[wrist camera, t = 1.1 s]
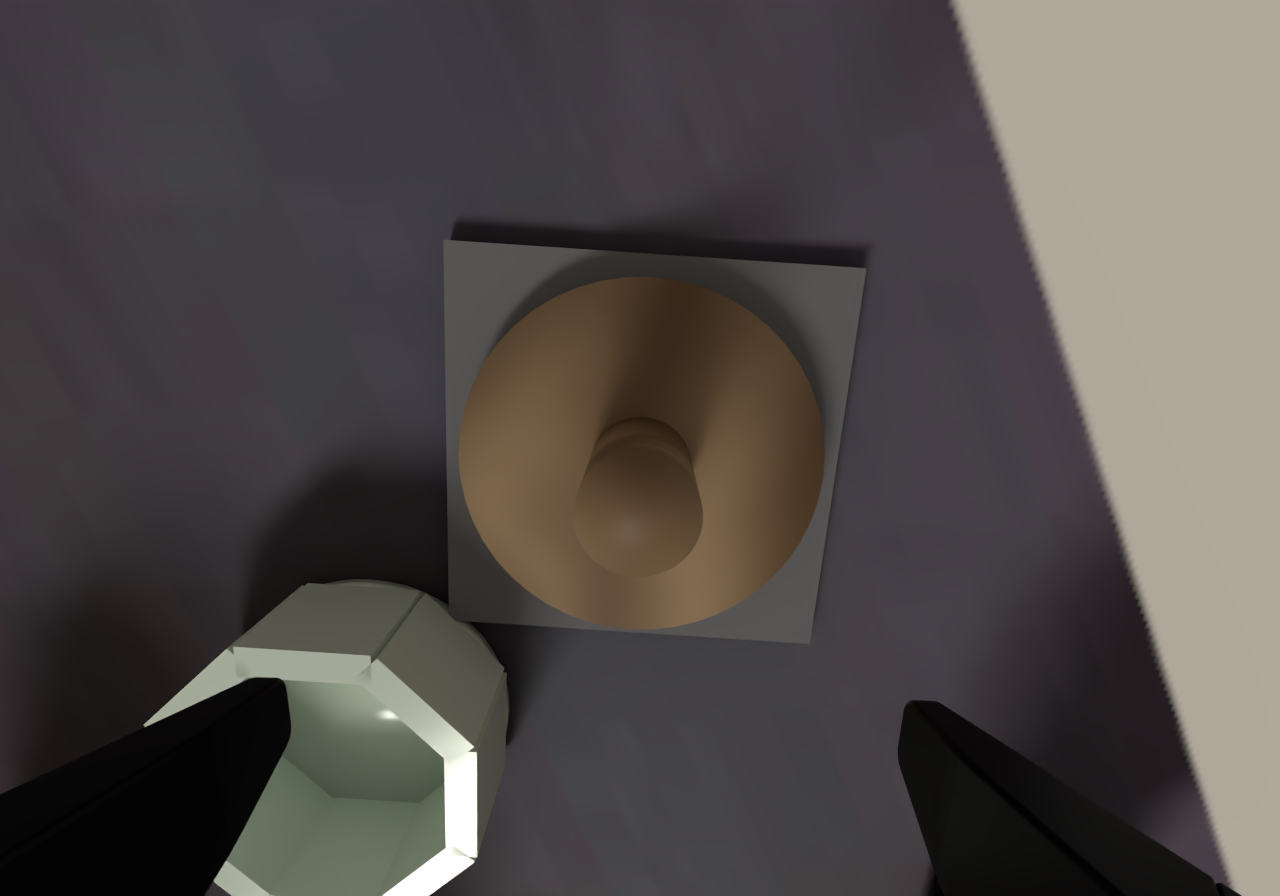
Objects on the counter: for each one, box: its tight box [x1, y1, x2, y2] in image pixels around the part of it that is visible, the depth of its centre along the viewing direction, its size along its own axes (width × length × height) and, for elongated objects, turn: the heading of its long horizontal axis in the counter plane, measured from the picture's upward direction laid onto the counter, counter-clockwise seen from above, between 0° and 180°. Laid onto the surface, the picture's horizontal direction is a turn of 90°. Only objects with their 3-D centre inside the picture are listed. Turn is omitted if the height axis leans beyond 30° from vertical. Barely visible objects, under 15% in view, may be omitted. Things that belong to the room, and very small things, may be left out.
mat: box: [443, 240, 866, 644], centre depth 21 cm, size 13×13×1 cm
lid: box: [458, 277, 825, 629], centre depth 18 cm, size 12×12×6 cm
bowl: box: [144, 579, 510, 896], centre depth 21 cm, size 10×10×5 cm
